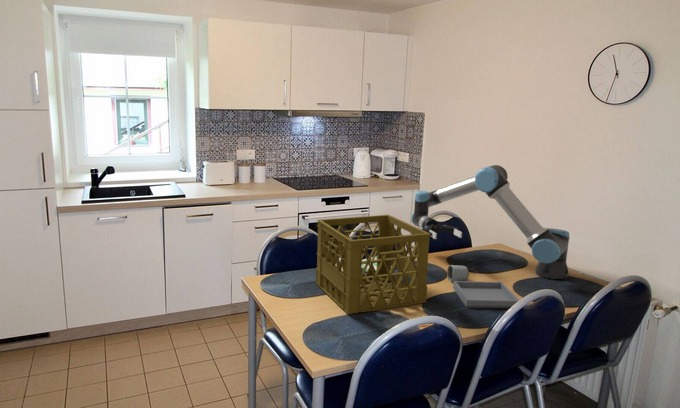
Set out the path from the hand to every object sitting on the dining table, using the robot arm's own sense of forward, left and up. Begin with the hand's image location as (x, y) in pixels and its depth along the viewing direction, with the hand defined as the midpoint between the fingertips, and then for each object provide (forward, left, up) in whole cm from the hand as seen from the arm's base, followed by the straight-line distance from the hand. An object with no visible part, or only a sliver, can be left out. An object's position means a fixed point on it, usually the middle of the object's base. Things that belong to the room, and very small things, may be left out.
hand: (448, 235), depth 244 cm
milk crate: (+40, +28, -19) cm, 53 cm away
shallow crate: (-10, +31, -19) cm, 37 cm away
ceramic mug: (-3, +9, -19) cm, 21 cm away
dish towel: (+32, -10, -20) cm, 39 cm away
